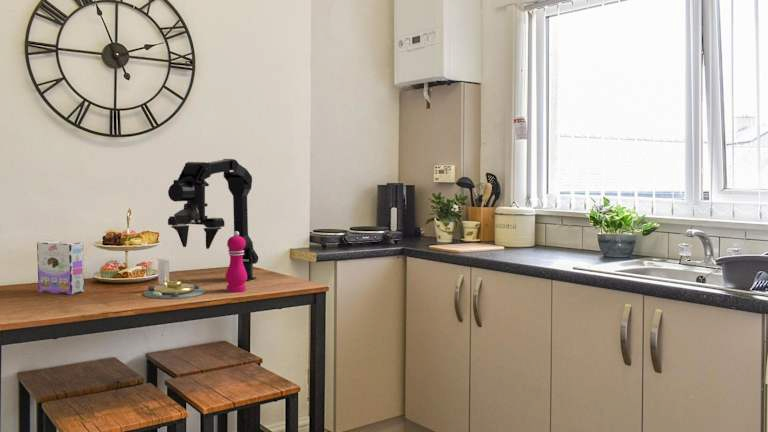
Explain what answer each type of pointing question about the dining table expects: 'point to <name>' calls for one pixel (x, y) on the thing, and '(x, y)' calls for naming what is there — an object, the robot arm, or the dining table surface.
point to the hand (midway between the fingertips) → (196, 247)
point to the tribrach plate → (173, 293)
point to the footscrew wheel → (169, 285)
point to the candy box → (60, 267)
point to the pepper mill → (236, 264)
